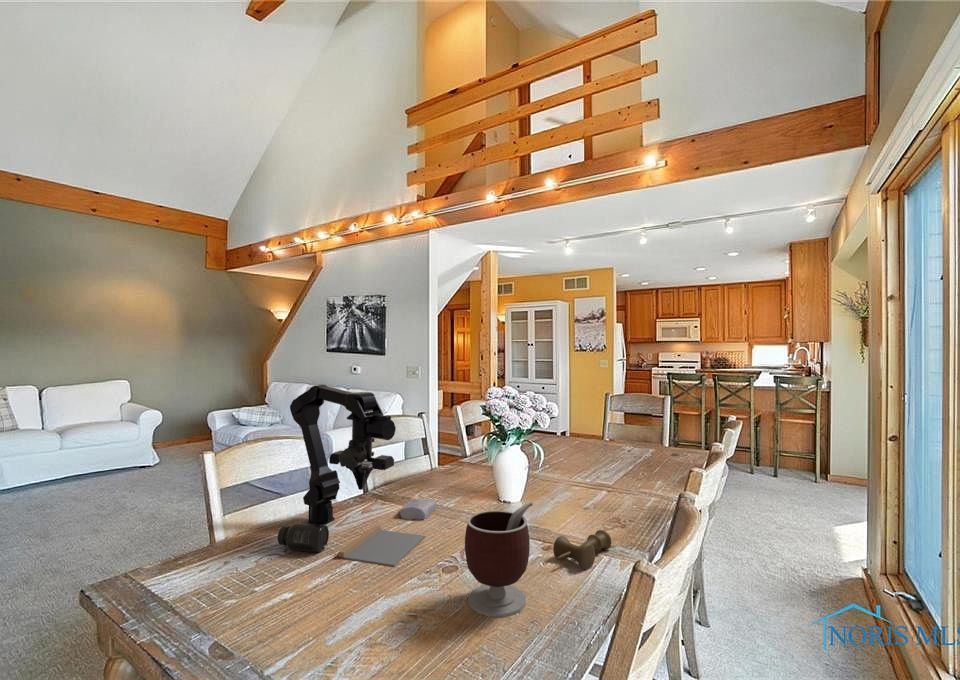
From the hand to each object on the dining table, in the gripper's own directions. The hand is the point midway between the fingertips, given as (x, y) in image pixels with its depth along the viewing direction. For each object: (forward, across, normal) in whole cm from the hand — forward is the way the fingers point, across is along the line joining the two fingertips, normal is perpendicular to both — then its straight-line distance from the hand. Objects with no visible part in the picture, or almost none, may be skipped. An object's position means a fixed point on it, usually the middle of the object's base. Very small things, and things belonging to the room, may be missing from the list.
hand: (360, 489), depth 139 cm
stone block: (+13, +8, +20) cm, 26 cm away
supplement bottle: (+9, -2, -14) cm, 17 cm away
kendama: (+12, +64, +4) cm, 65 cm away
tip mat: (+12, +12, -6) cm, 18 cm away
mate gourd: (+12, +49, -22) cm, 55 cm away
